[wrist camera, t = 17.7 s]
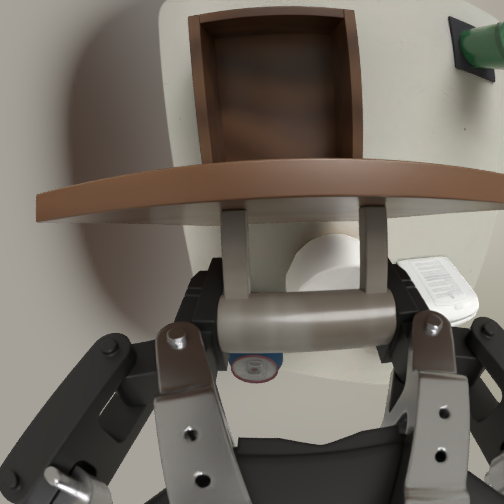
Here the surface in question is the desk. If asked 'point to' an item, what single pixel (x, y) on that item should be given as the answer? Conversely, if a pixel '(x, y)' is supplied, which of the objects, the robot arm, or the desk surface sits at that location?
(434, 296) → the photo printer
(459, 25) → the mat
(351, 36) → the wooden box
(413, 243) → the desk surface
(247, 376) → the soda can
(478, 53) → the green pot
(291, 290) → the cup
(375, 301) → the lid
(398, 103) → the desk surface
